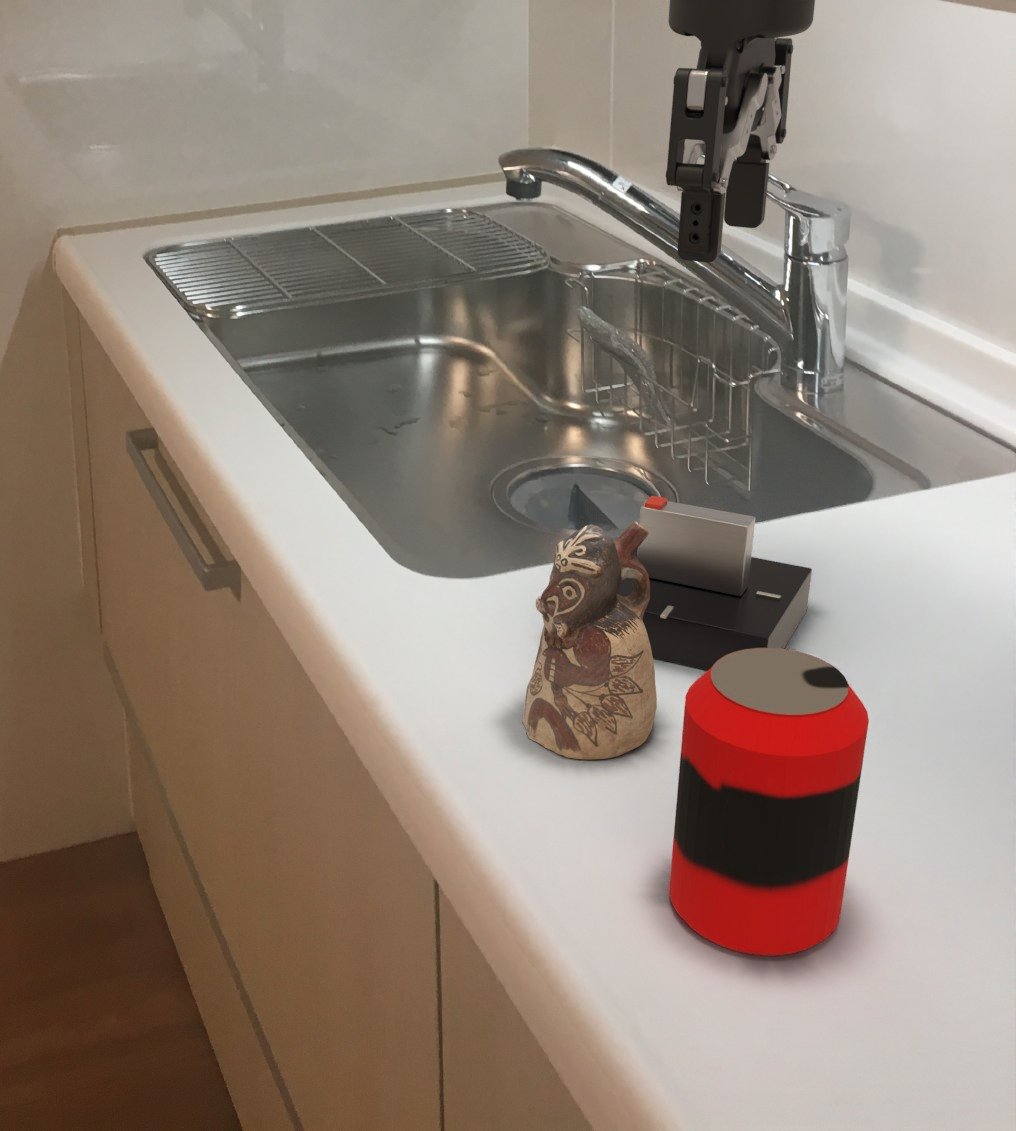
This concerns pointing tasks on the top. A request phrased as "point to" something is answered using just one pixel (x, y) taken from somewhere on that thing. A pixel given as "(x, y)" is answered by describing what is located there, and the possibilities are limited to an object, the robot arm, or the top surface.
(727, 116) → the robot arm
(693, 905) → the soda can
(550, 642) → the figurine
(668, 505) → the grey rectangular block
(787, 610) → the tap plate
